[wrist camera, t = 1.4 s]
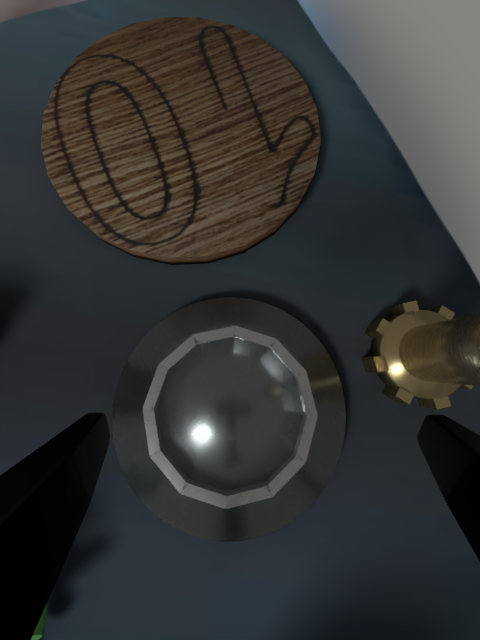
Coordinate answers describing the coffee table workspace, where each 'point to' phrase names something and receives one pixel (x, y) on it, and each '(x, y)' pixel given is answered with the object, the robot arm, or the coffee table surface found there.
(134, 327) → the coffee table surface
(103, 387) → the coffee table surface
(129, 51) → the trivet
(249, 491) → the carrier plate
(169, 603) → the coffee table surface
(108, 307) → the coffee table surface
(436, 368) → the brass toothed-base goblet
